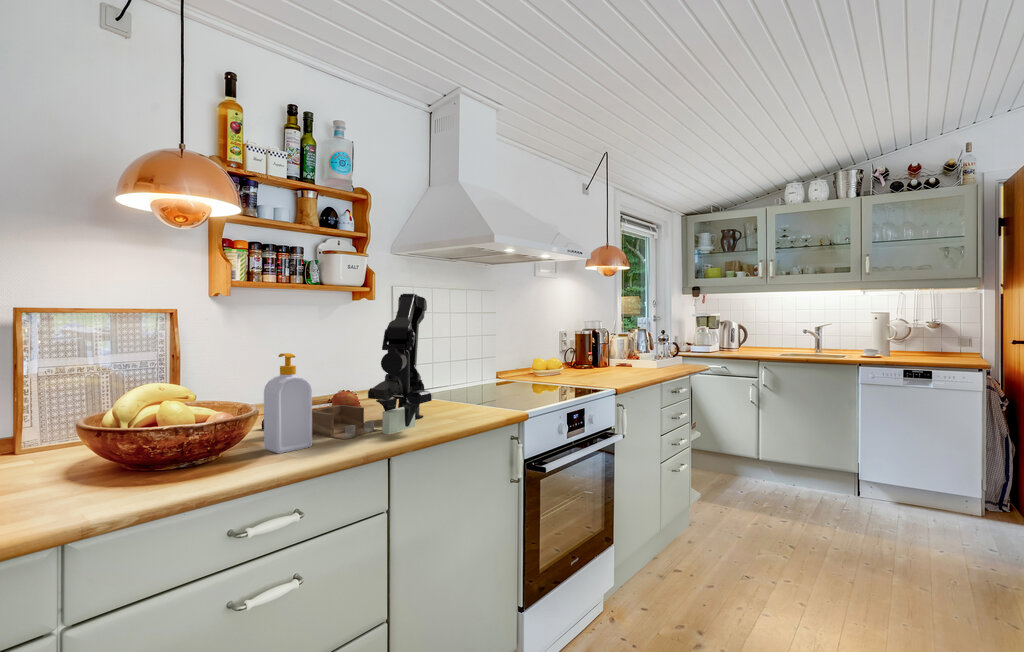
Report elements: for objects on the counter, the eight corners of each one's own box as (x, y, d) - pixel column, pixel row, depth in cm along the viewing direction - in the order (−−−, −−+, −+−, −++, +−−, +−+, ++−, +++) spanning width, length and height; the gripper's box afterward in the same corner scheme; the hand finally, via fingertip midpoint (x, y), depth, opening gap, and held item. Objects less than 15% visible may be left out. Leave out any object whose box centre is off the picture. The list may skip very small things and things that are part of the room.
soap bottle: (297, 442, 134) (297, 351, 133) (312, 446, 130) (312, 353, 129) (262, 449, 127) (261, 353, 126) (276, 454, 123) (276, 355, 122)
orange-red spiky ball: (332, 414, 170) (331, 390, 170) (359, 413, 172) (359, 389, 172) (330, 419, 162) (330, 393, 162) (359, 418, 165) (359, 392, 164)
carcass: (340, 425, 154) (340, 404, 154) (377, 430, 148) (377, 409, 148) (307, 433, 144) (307, 411, 144) (344, 439, 137) (344, 416, 137)
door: (408, 426, 154) (408, 405, 154) (415, 426, 153) (415, 406, 153) (382, 433, 145) (382, 411, 145) (389, 434, 144) (389, 412, 144)
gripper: (353, 370, 146) (353, 427, 146) (406, 374, 137) (406, 434, 138) (381, 367, 156) (381, 420, 156) (432, 370, 147) (432, 426, 147)
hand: (399, 425), depth 149 cm, fingers open, 5 cm apart
